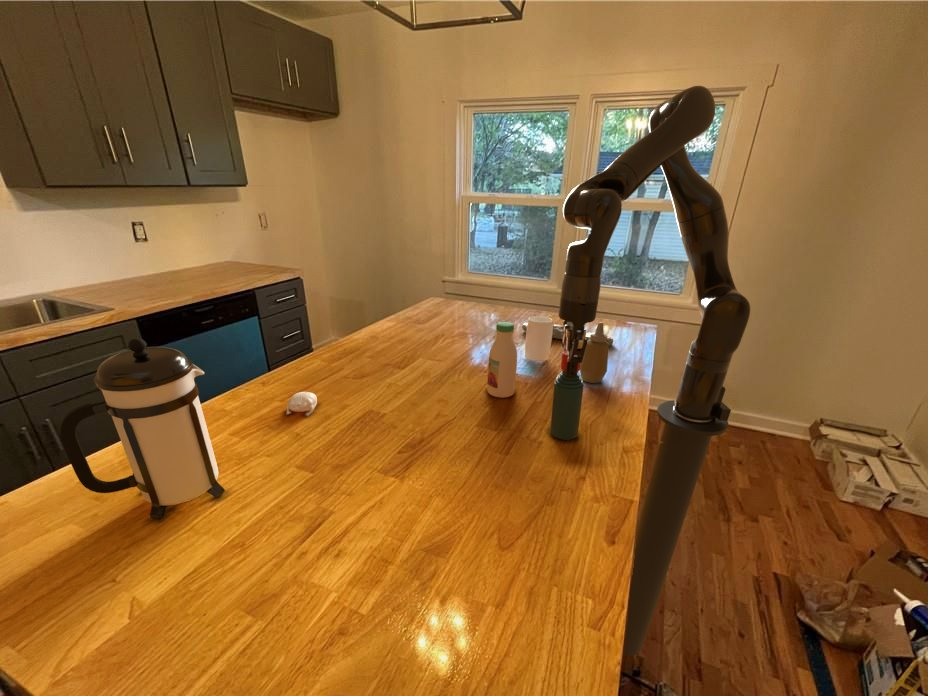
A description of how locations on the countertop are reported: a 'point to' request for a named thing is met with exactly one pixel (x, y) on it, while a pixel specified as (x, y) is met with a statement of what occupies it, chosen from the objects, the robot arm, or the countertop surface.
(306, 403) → the white turtle figurine
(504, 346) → the milk bottle
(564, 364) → the cap
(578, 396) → the water bottle
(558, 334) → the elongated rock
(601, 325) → the squeeze bottle
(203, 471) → the coffee press
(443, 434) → the countertop surface
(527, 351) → the cup
